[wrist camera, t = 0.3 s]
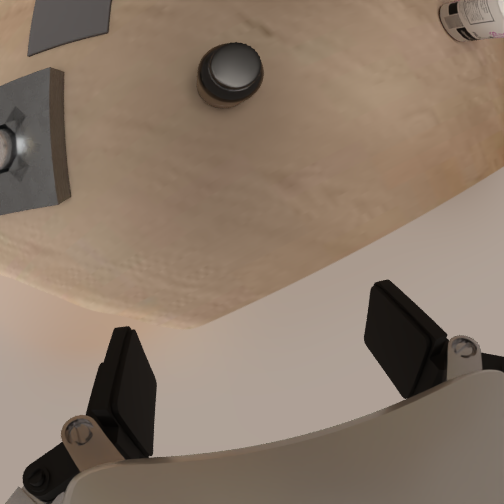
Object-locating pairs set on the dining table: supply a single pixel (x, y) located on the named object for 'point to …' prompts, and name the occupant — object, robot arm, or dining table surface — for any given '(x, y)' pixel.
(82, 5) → the mat
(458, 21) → the supplement can
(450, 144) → the dining table surface
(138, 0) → the dining table surface
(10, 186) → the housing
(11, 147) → the can with gold end
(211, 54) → the supplement bottle
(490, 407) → the robot arm
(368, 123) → the dining table surface
